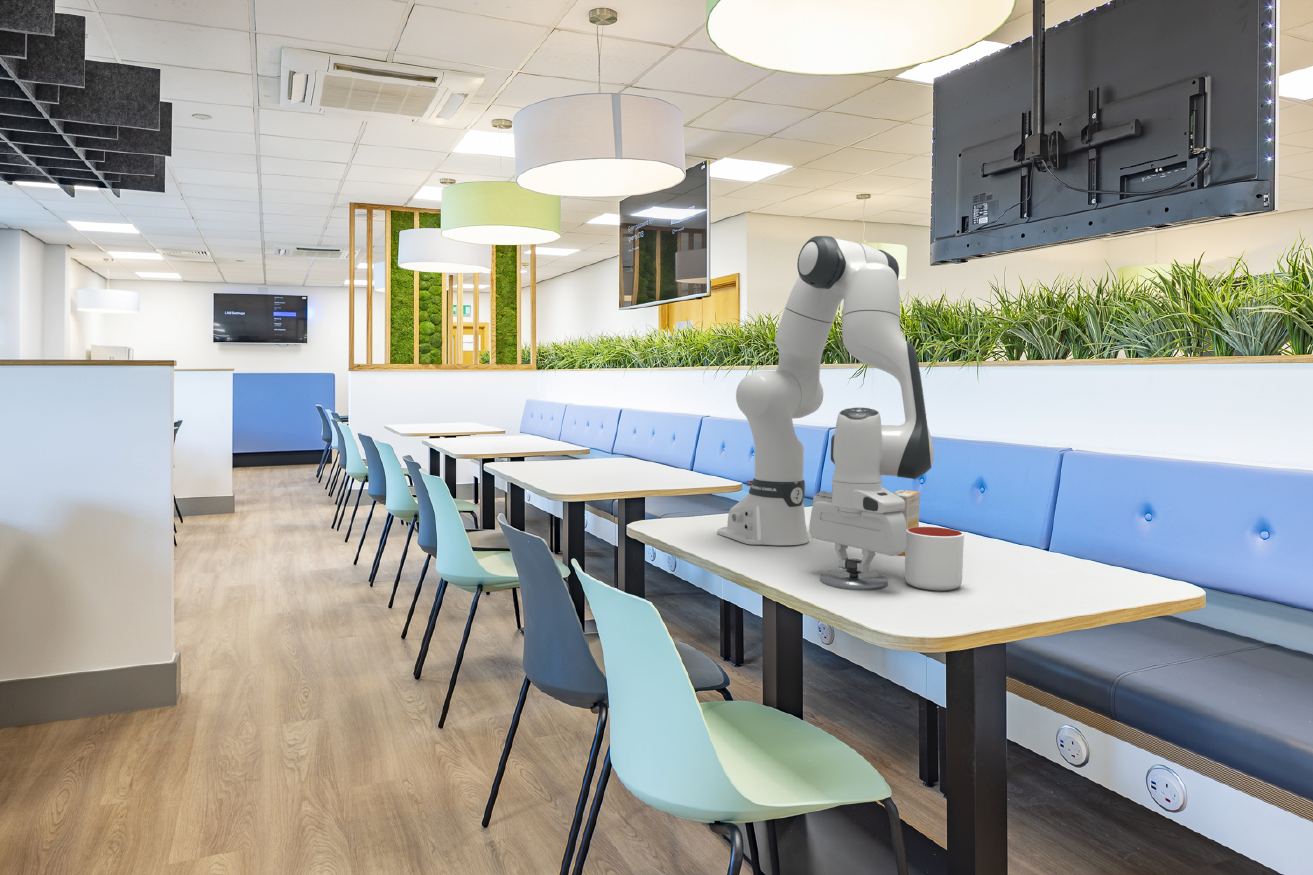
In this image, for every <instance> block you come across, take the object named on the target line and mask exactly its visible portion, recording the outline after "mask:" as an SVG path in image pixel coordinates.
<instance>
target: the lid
mask: <svg viewBox="0 0 1313 875" xmlns="http://www.w3.org/2000/svg"><path fill="white" fill-rule="evenodd" d="M862 560H863V559H859V558H850V559H847V563H846V569H844V568H840V569H830V570H825V571H822V572H821V573H820V574H819V581H820V583H821V584H823V585H825V586H829V587H831V588H835V589H841V590H849V591H877V590H882V589H885V588H887V587H888V586H889V578H888V577H887V576H886V575H883V574H881V573H877V572H874V571H869V573H865V574H863V573H860V572H857V563H861V562H862Z"/></svg>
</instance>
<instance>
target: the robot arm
mask: <svg viewBox="0 0 1313 875" xmlns="http://www.w3.org/2000/svg"><path fill="white" fill-rule="evenodd" d="M796 264H797V272H798V277H797V280H796V281H795V283H794V285H793V287H792V289H791V291H790V294H789V296H788V299H787V302H786V304H785V307H784V310H783V313H782V315H781V318H780V322H779V325H778V328H777V330H776V333H775V335H774V336H775V337H774V344H775V346H776V348H777V349H778V364H777V368H776V370H760V371H757V372H755V373H754V372H753V373H751V374H748V375H746V376H744V377H743V378H742V379H741V380H740V382H739V384H738V385H737V388H736V392H735V399H736V400H735V401H736V404H737V406H738V409H739V410H740V412H741V413H742V414H743V415H744V416H745V417H746V419H747V421H748V423H749V426H750V430H751V433H752V434H751V435H752V438H753V444H754V445H753V446H754V478H752V480H746V485H745V486H746V487H749V489H748V494H747V495H746V496H745V497H744V498H742V499H740V501H738V502H737V503H736V504H735V505H733V506H732V507H730V510H728V516H727V522H726V523H727V524H726V525H727V526H724V527H720V528H718V529H717V532H716V534H717V535H720V536H724V537H726V538H729V539H732V540H734V541H737V542H741V543H743V544H745V545H755V546H756V545H762V546H763V545H767V546H797V545H798V546H799V545H802V544H806V543H808V542H809V541H810V539H809V536H808V532H809V535H810V537H811V539H815V540H817V541H818V540H819V541H824V542H826V543H827V542H828V543H832V544H834V550H835V552H836V555H837V556H838V559H839V568H840V569H846V563H847V559H850V558H849V556H848V552H847V549H848V548H849V547H851V548H854V549H855V548H856V549H860V550H861V555H862V556H863V557H862V559H861V560H862V562H861V563H857V572H860V573H863V574H865V573H869V572H870V564H871V563H872V561H873V560H874V558H875V556H876V553H877V554H882V555H883V554H884V555H888V556H898V555H897V554H901V553H902V552H903V551H904V550H905V548H906V521H905V517H904V515H903V514H902V513H901V512H900V511H901V510H904V508H905V501H904V499H902V498H901V497H899V496H897V495H895V494H893V493H892V492H891V491H890V490H888V489H887V488H885V487H883V486H882V484H883V483H882V480H883V479H882V476H891V477H892V476H893V477H897V478H903V479H904V478H905V479H912V480H916V479H918V478H920V477H922V476H923V475H926V473H927V472H929V470H931V469H932V467H933V466H932V465H933V463H934V459H935V458H934V457H935V446H934V443H933V438H932V436H931V433H930V430H929V426H928V420H927V410H926V403H925V396H924V391H923V390H924V389H923V382H922V375H921V374H922V373H921V370H920V366H919V359H918V354H917V351H916V348H915V346H914V344H912V343H910V342H908V341H907V340H906V339H905V337H904V335H903V333H902V328H901V323H900V322H901V321H900V320H901V319H900V317H901V300H900V298H901V297H900V288H899V281H898V280H899V277H900V276H899V275H900V267H899V262H898V261H897V259H896V258H895V257H894V256H893V255H891V254H890V253H888V252H886V251H885V250H883V249H877V248H875V247H872V246H870V245H867V244H864V243H861V242H859V241H850V240H846V239H841V238H835V237H833V236H830V235H829V236H828V235H815V236H813V237H811V238H809V239H808V240H807V241H806V242H805V243H804V244H803V246H802V248H801V249H800V251H799V254H798V256H797V263H796ZM842 301H843V305H842V306H843V307H842V316H841V317H842V319H841V337H842V343H843V346H844V347H845V349H846V350H847V352H848V354H850V355H851V356H852V357H853V358H854V359H856V360H858V361H859V362H861V363H863V364H865V365H867V366H870V367H872V368H876V369H878V370H881V371H883V372H886V373H887V374H890V375H891V376H893V377H894V378H895V379H896V380H897V381H898V383H899V386H900V389H901V397H902V405H903V410H904V420H905V421H904V423H902V424H900V425H887V424H886V425H885V424H883V425H882V418H881V414H880V411H878V410H876V409H873V408H870V407H851V408H848V407H847V408H844V409H843V410H841V411H839V412H838V415H837V418H836V424H835V429H834V434H833V435H832V436H831V438H830V439H831V440H830V461H831V462H832V463H833V464H834V471H833V475H832V483H831V484H832V486H831V488H832V490H831V492H827V491H826V490H825V491H824V490H820V491H819V492H818V493H816V494H815V495H814V496H813V499H812V507H811V512H810V517H809V526H808V527H809V528H808V529H809V530H807V526H806V525H807V524H806V514H805V504H804V497H805V495H806V491H805V490H806V483H805V479H804V455H805V452H804V451H805V449H804V446H803V443H802V442H801V440H799V438H798V437H797V436H798V435H797V434H796V431H795V427H794V421H793V419H801V418H804V417H807V416H809V415H811V414H813V413H815V412H816V411H818V410H819V409H820V407H821V406H822V403H823V401H824V389H823V386H822V383H821V382H820V377H821V375H820V373H821V362H822V357H823V353H824V350H825V347H826V343H827V341H828V338H829V335H830V332H831V329H832V326H833V323H834V320H835V317H836V314H837V311H838V308H839V305H840V304H841V302H842ZM747 483H748V484H747ZM807 531H808V532H807Z"/></svg>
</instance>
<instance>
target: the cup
mask: <svg viewBox="0 0 1313 875" xmlns="http://www.w3.org/2000/svg"><path fill="white" fill-rule="evenodd" d="M964 538H965V533H964V532H962V531H960V530H957V529H951V528H946V527H936V526H919V527H913V528H909V529H907V530H906V548H905V556H904V579H905V581H906V582H907V584H909V585H910V586H912V587H914V588H917V589H921V590H926V591H927V590H928V591H935V592H936V591H939V592H940V591H944V592H946V591H952V590H956V589H958V588H959V587H960V586H961V585H962V582H963V567H964V566H963V564H964V544H965V543H964V542H965V541H964Z"/></svg>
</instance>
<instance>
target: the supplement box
mask: <svg viewBox="0 0 1313 875" xmlns="http://www.w3.org/2000/svg"><path fill="white" fill-rule="evenodd" d="M891 493H893V494H895V495H897V496H899V497H901V498H902V499H904V501H905V508H904V510H901V511H900V512H901V513H902V514H903V515H904V517H905V521H906V530H907V529H909V528H913V527H920V526H919V524H920V500H921V499H920V498H921V492H920V491H914V490H906V489H900V490H896V491H893V492H891ZM896 556H902V557H903V556H904V557H905V550H904V551H903V552H902V553H901V554H897V555H896Z"/></svg>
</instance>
